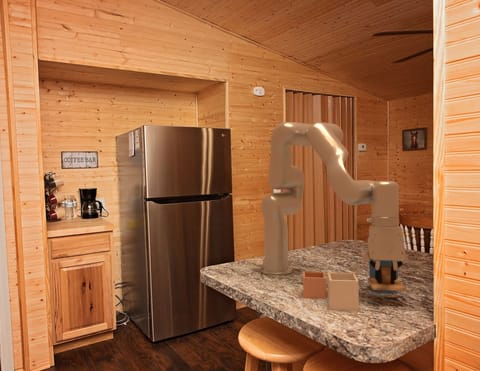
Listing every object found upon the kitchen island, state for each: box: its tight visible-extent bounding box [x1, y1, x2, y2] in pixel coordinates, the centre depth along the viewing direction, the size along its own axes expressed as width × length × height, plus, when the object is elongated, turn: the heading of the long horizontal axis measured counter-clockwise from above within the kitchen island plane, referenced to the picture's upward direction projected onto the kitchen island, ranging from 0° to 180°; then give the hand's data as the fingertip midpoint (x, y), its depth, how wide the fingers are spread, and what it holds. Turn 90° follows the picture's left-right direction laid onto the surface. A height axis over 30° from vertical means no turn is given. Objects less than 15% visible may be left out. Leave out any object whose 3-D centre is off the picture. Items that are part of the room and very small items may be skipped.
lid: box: [367, 265, 406, 292], centre depth 111 cm, size 9×9×6 cm
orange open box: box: [302, 271, 327, 300], centre depth 118 cm, size 7×7×7 cm
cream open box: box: [327, 272, 360, 312], centre depth 109 cm, size 8×8×9 cm
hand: (385, 281), depth 111 cm, fingers closed on lid, 3 cm apart
